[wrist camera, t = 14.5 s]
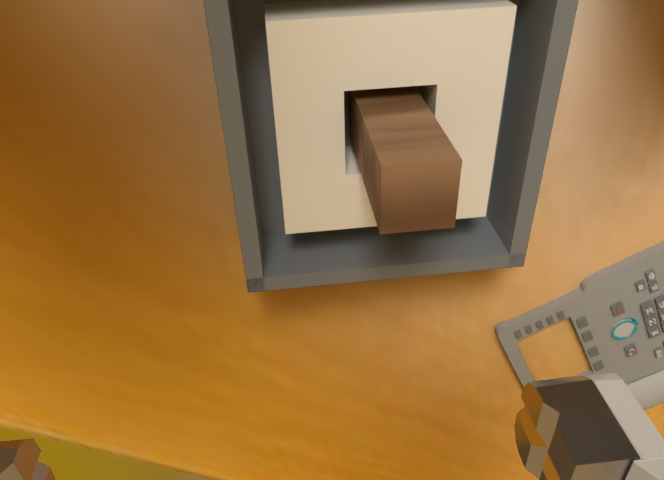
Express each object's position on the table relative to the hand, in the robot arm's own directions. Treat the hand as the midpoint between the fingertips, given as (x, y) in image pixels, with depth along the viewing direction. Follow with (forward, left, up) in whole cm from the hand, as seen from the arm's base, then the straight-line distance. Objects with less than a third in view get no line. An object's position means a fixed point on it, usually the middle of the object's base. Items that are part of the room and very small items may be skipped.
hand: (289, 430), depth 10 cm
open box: (+7, +7, -31) cm, 33 cm away
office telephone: (+35, +32, -32) cm, 57 cm away
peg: (+7, +7, -30) cm, 32 cm away
